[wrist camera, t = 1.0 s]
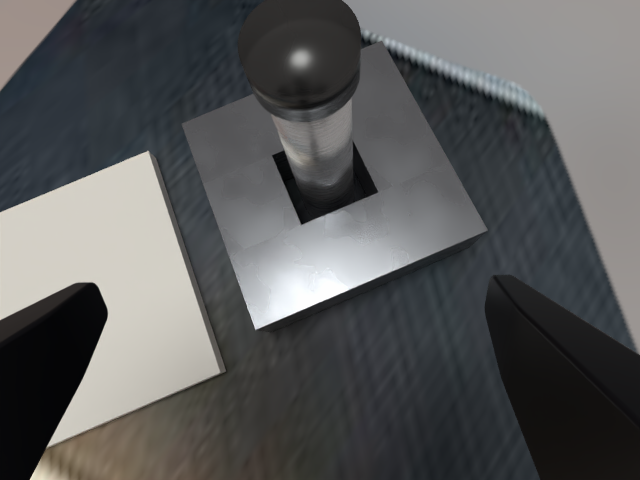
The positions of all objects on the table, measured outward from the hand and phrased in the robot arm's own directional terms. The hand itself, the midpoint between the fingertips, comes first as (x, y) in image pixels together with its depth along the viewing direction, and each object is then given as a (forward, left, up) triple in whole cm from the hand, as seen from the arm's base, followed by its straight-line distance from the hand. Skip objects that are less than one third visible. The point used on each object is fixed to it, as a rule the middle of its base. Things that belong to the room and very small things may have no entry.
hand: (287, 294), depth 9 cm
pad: (+7, +13, -14) cm, 20 cm away
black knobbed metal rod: (+7, -3, -14) cm, 16 cm away
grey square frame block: (+7, -3, -14) cm, 16 cm away
